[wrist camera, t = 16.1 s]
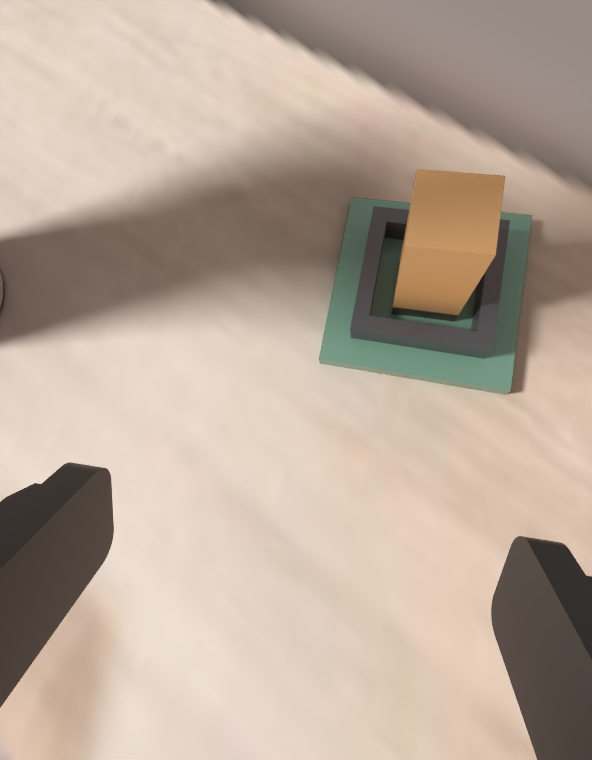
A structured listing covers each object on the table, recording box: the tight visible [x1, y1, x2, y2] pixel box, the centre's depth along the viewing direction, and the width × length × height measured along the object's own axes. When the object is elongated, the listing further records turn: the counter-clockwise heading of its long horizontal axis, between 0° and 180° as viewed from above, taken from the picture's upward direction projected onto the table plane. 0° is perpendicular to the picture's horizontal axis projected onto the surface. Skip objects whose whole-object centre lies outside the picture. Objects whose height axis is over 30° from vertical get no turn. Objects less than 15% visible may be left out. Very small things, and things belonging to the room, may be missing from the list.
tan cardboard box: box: [391, 169, 505, 322], centre depth 25 cm, size 4×4×9 cm
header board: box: [319, 197, 532, 394], centre depth 29 cm, size 12×12×3 cm
